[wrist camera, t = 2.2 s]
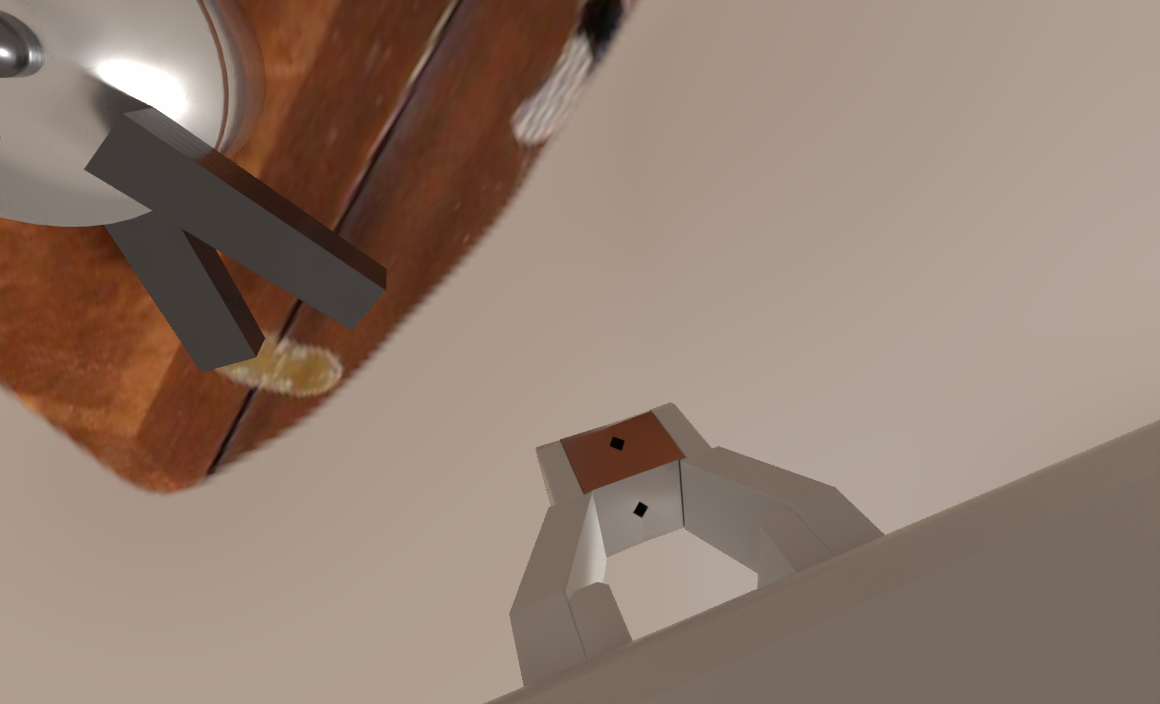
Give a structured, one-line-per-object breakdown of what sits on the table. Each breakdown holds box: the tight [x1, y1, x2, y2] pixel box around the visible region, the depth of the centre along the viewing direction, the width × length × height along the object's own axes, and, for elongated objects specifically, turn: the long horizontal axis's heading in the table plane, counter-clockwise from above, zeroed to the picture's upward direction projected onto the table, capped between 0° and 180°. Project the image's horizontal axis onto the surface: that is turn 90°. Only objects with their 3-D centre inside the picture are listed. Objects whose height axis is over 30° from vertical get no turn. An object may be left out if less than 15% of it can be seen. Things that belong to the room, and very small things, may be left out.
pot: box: [104, 0, 266, 372], centre depth 23 cm, size 23×12×8 cm, turn 10°
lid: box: [0, 0, 387, 330], centre depth 19 cm, size 20×12×4 cm, turn 45°
